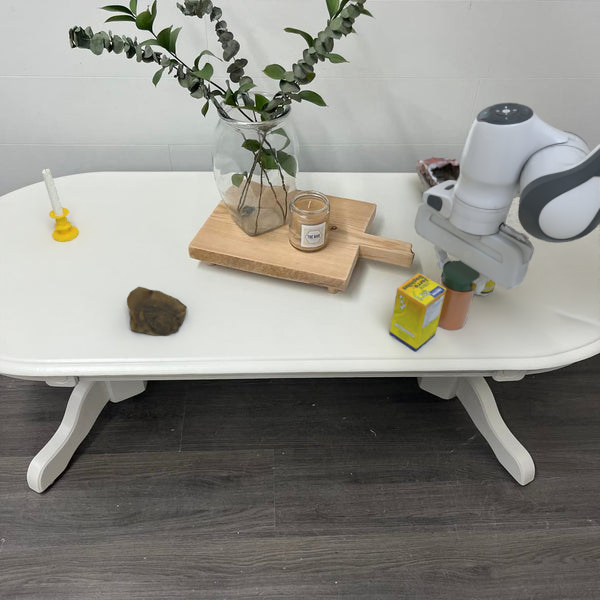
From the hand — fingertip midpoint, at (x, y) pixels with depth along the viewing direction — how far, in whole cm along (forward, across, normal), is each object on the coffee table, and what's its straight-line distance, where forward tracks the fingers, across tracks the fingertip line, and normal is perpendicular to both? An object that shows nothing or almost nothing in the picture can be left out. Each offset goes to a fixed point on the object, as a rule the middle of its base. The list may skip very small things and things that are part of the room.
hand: (459, 278), depth 97 cm
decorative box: (+10, +25, -26) cm, 38 cm away
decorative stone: (+10, +33, +41) cm, 53 cm away
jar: (+10, 0, 0) cm, 10 cm away
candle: (+10, +66, +44) cm, 80 cm away
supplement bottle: (+10, +2, -12) cm, 15 cm away
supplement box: (+10, +1, +8) cm, 13 cm away
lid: (-1, 0, 0) cm, 1 cm away
